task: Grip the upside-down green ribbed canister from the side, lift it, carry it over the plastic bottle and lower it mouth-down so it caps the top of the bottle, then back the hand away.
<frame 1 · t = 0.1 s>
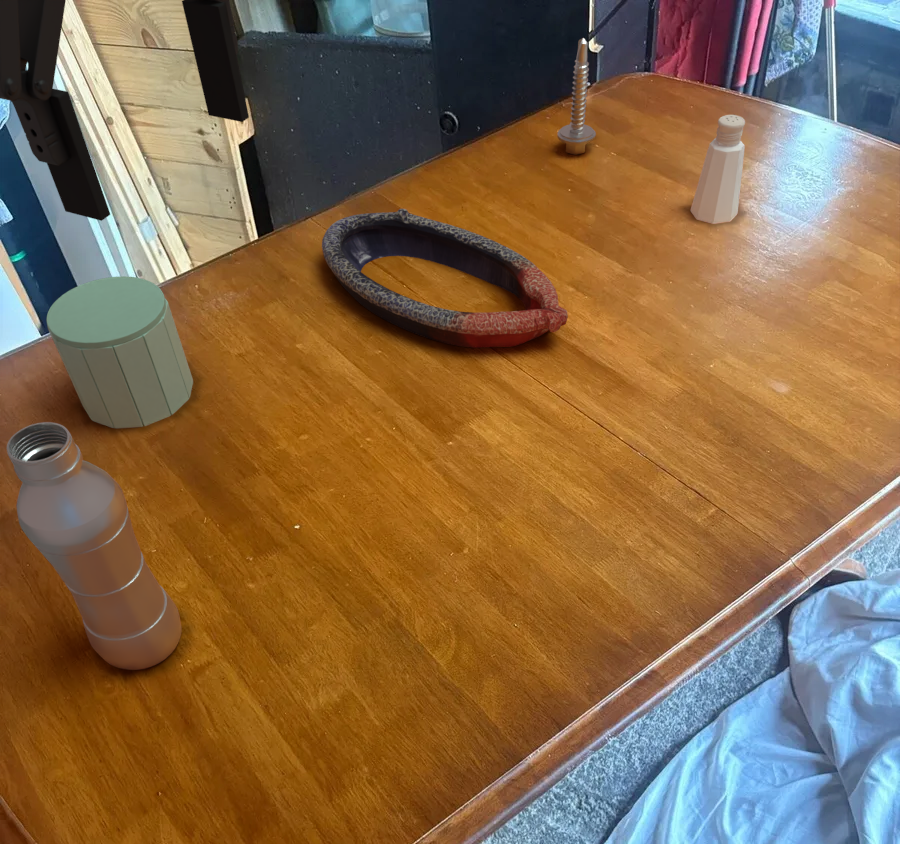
hand: (163, 162, 54), 29 cm above the table, tool pointing down, fingers open, 13 cm apart
grey speckled oval ring: (439, 305, 94), on the table
screw: (575, 151, 115), on the table
salt shaker: (712, 220, 103), on the table
plastic bottle: (145, 647, 67), on the table
green ribbed canister: (141, 399, 86), on the table
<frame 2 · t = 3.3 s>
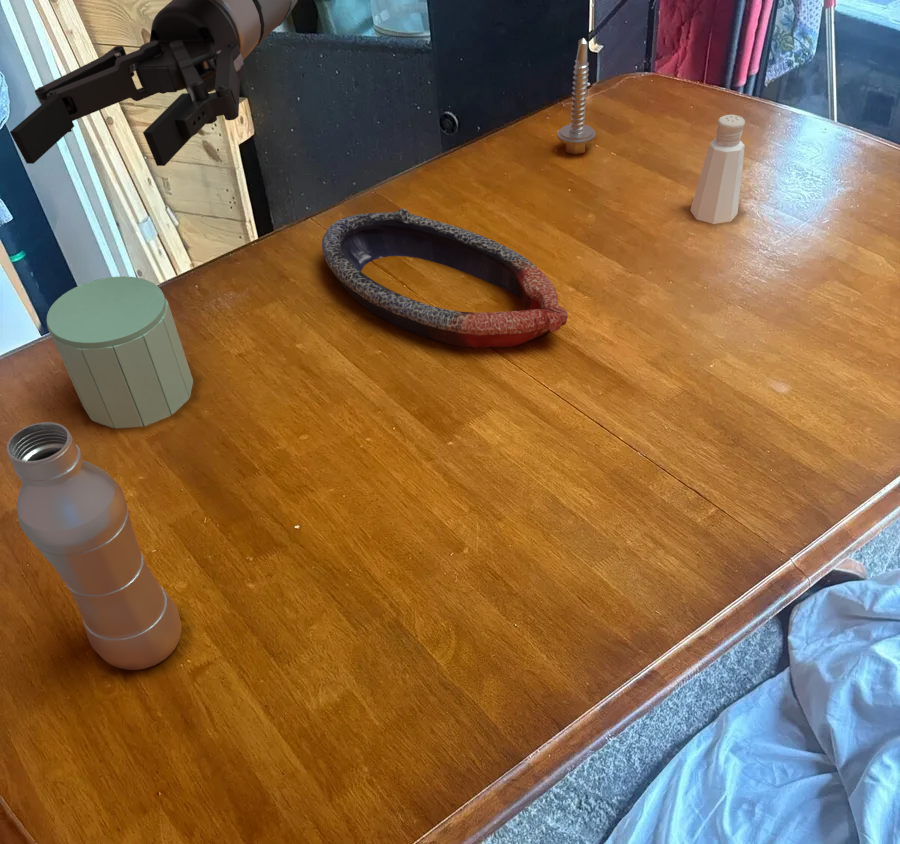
hand: (85, 149, 74), 21 cm above the table, tool horizontal, fingers open, 13 cm apart
nothing on the table moved.
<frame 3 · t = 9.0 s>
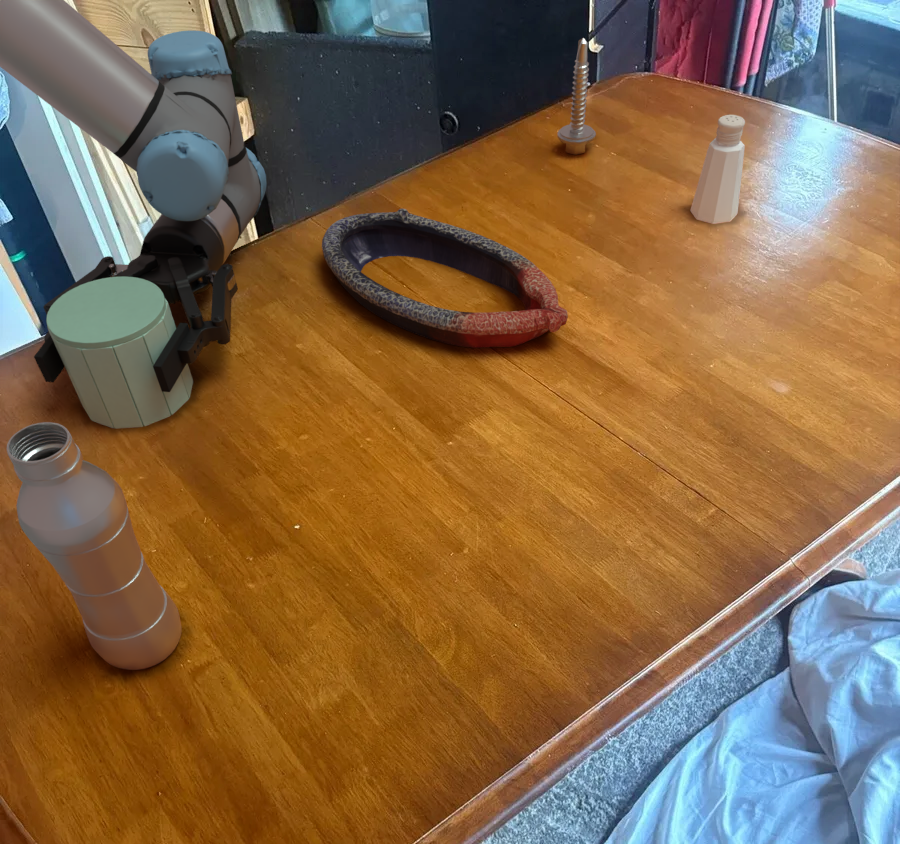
hand: (101, 374, 79), 6 cm above the table, tool horizontal, fingers closed on green ribbed canister, 10 cm apart
green ribbed canister: (140, 399, 86), on the table, touching gripper
everything else where it was.
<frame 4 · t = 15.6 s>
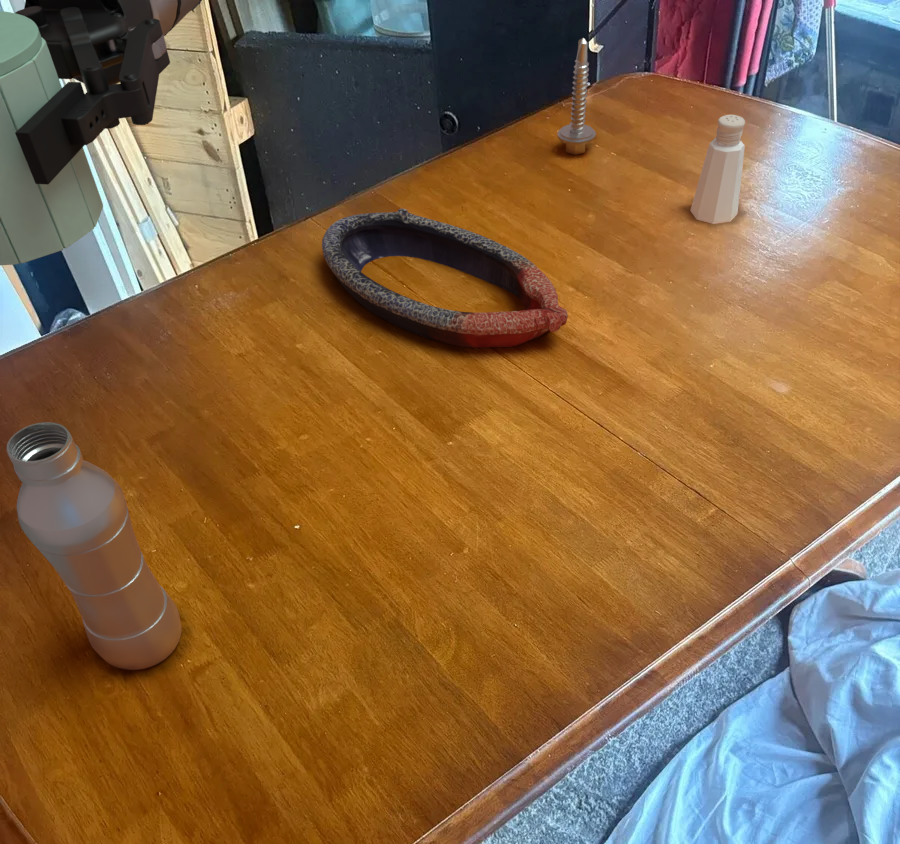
green ribbed canister: (18, 222, 56), point 26 cm above the table, touching gripper
everything else where it was.
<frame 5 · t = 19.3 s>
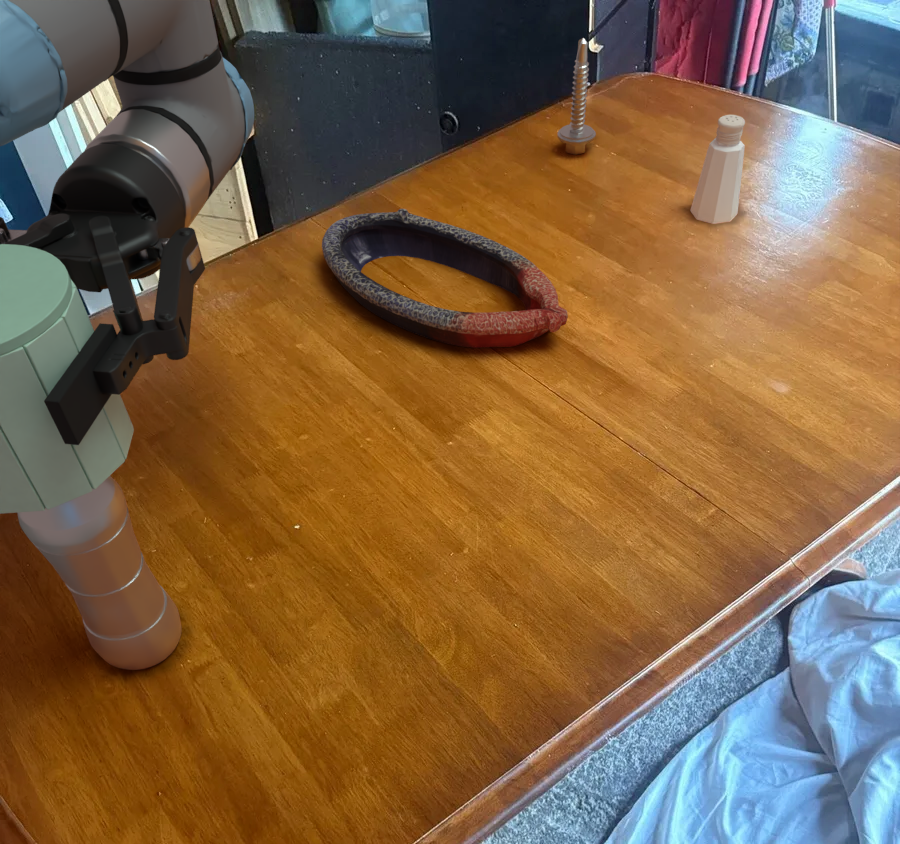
green ribbed canister: (43, 450, 52), point 19 cm above the table, touching gripper
everything else where it was.
when the fingers open (17 cm above the table, at t = 22.3 s): green ribbed canister stays where it is, resting on plastic bottle.
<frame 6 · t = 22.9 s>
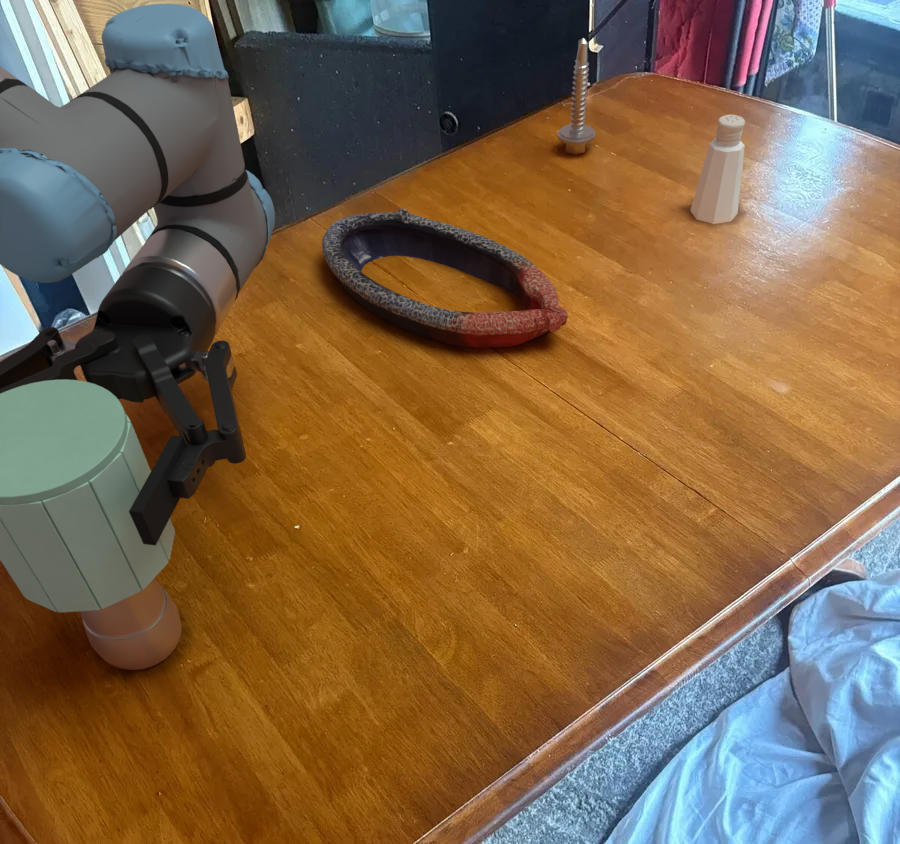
hand: (32, 517, 52), 17 cm above the table, tool horizontal, fingers open, 13 cm apart
plastic bottle: (145, 647, 67), on the table, touching green ribbed canister
green ribbed canister: (95, 551, 59), point 11 cm above the table, touching plastic bottle
everything else where it was.
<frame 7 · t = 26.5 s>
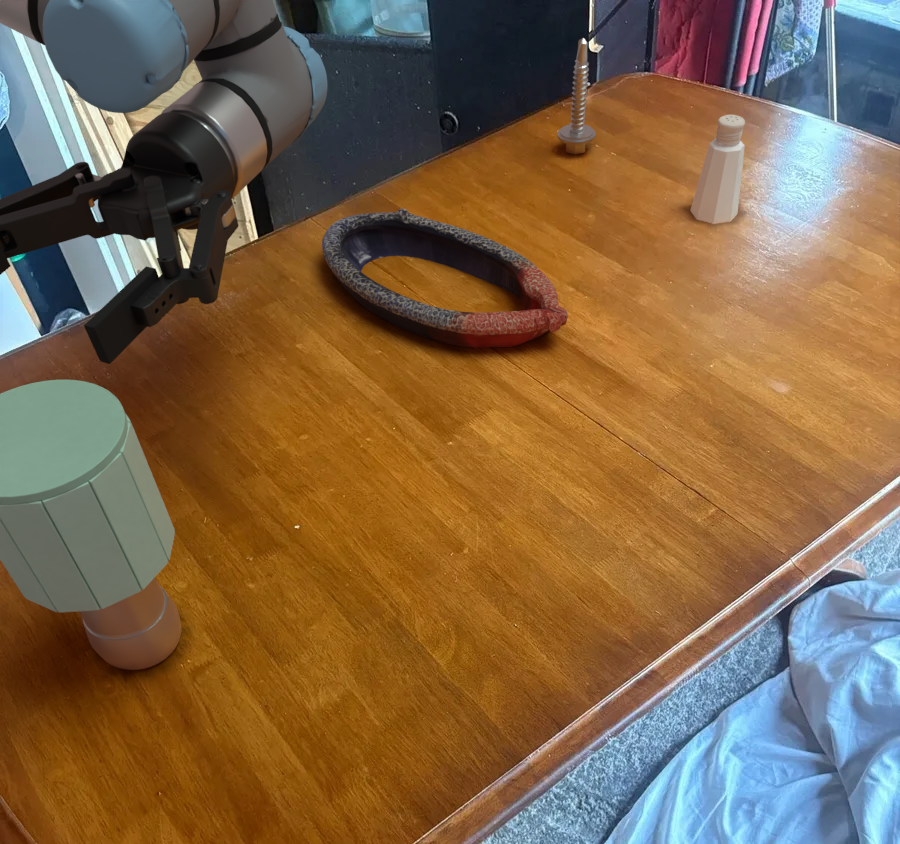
hand: (11, 322, 57), 21 cm above the table, tool horizontal, fingers open, 13 cm apart
nothing on the table moved.
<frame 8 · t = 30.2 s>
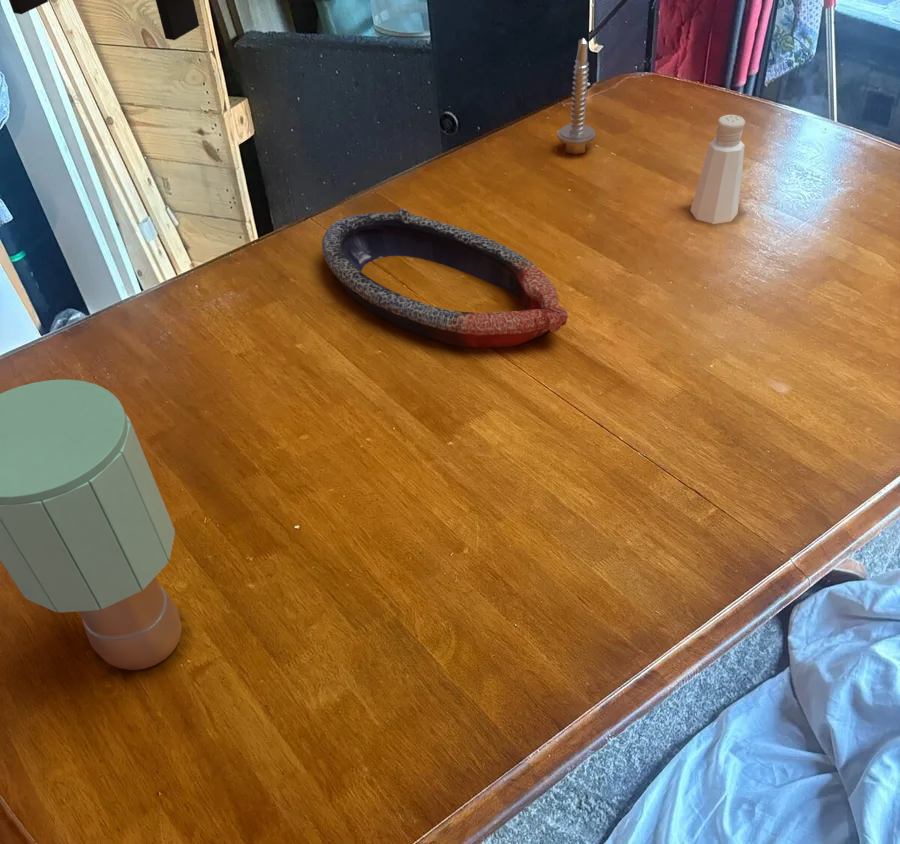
hand: (104, 20, 62), 32 cm above the table, tool pointing down, fingers open, 13 cm apart
nothing on the table moved.
at the end: green ribbed canister 0.0 cm off-centre in the plastic bottle, point 10.8 cm above the plastic bottle's base; plastic bottle tilted 0°; the gripper is holding nothing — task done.
